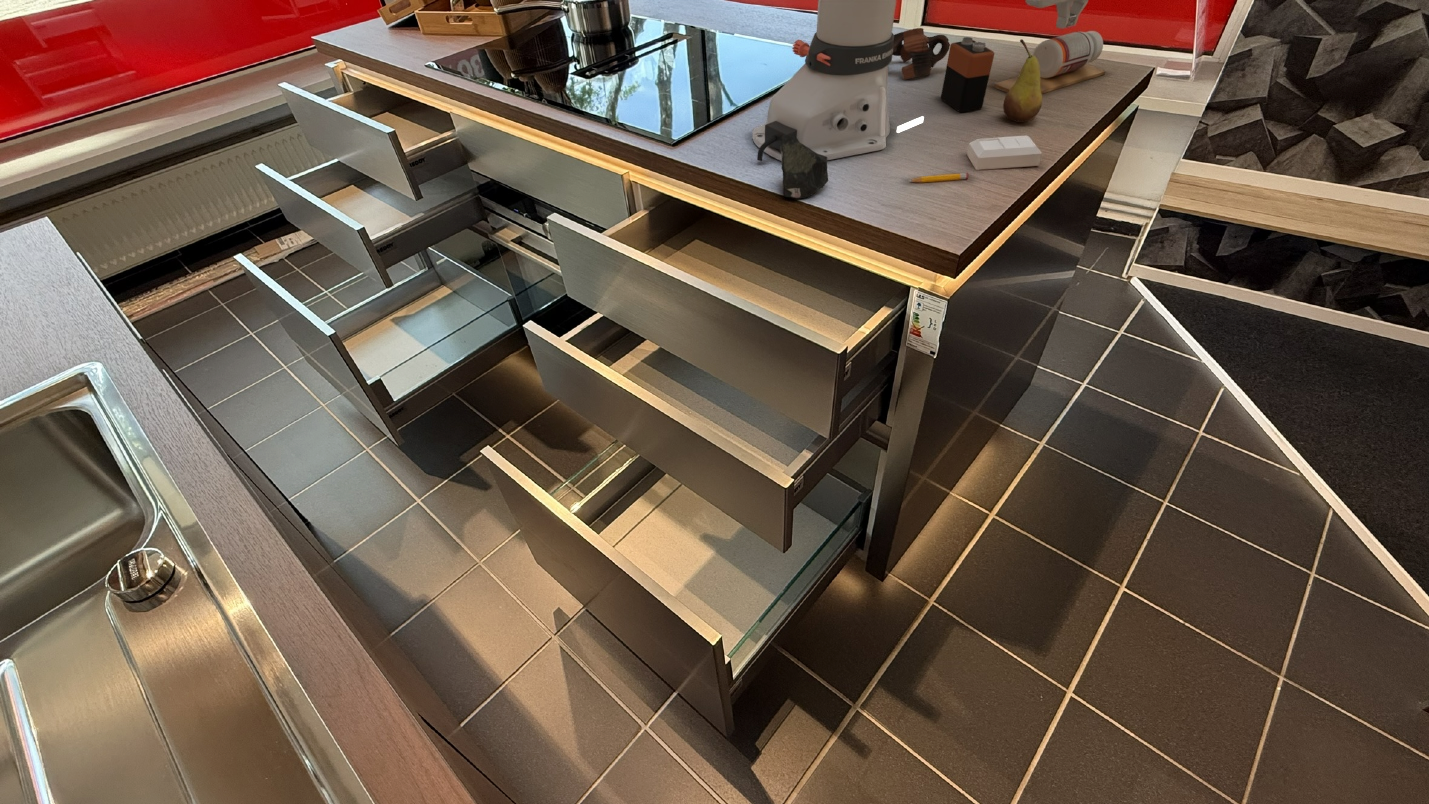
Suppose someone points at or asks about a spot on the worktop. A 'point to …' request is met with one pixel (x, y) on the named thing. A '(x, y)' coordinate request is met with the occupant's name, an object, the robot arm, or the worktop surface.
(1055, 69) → the pill bottle
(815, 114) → the robot arm
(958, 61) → the battery
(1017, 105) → the fruit
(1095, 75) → the wooden board
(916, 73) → the pottery mug
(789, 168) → the rock
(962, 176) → the pencil
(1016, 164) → the soap bar
